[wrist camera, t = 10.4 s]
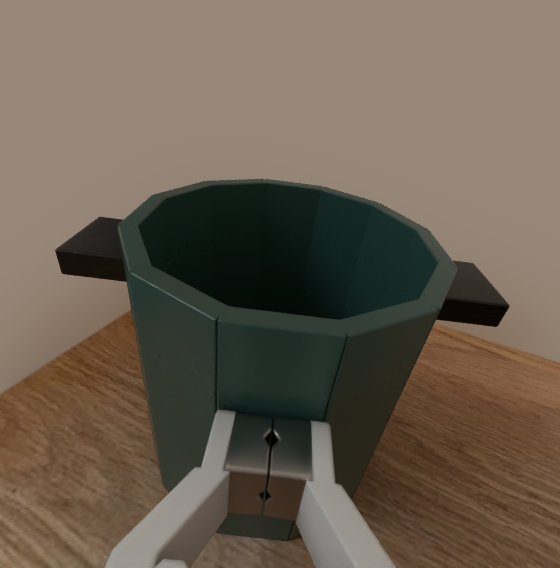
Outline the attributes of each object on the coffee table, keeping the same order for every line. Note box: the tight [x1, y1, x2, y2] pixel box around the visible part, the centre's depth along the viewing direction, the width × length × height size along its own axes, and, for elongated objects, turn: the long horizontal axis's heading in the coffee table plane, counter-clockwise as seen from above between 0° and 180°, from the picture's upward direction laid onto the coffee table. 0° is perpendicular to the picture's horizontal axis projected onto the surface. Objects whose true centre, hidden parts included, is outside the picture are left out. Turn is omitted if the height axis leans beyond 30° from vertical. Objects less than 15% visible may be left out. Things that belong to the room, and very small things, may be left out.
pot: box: [55, 179, 509, 541], centre depth 15 cm, size 16×11×11 cm
